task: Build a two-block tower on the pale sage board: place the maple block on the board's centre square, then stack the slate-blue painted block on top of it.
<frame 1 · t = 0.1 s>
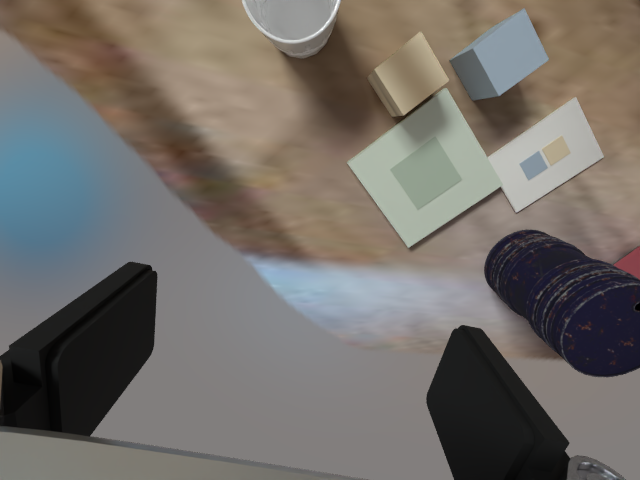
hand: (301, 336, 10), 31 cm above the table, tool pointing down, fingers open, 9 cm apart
white cup: (300, 23, 34), on the table
slate block: (481, 65, 35), on the table
maple block: (398, 82, 36), on the table
puzzle cube: (622, 291, 44), on the table
storage jar: (520, 264, 43), on the table
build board: (423, 172, 39), on the table
instruction card: (542, 158, 38), on the table
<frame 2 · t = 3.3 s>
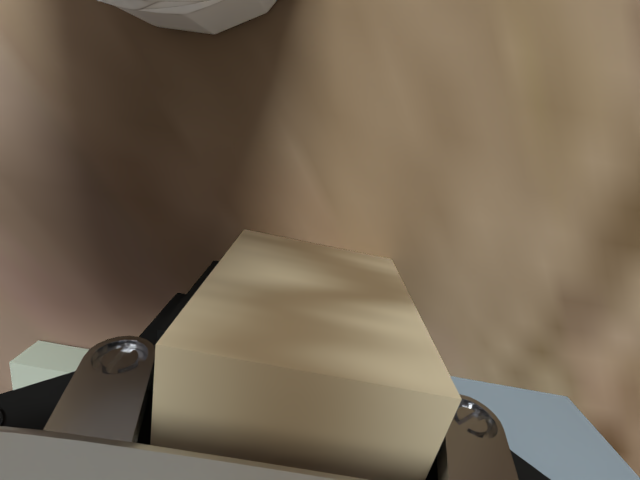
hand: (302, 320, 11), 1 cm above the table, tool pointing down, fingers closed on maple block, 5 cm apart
slate block: (483, 432, 14), on the table
maple block: (304, 308, 12), on the table, touching gripper
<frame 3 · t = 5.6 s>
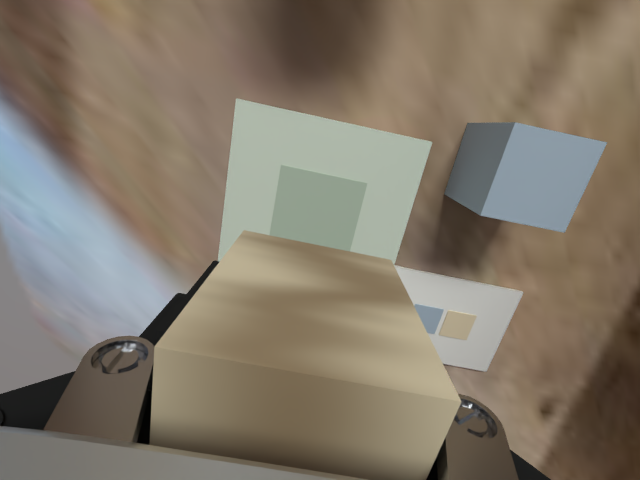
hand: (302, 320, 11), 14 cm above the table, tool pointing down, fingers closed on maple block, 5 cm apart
slate block: (488, 166, 23), on the table
maple block: (304, 309, 12), point 14 cm above the table, touching gripper
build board: (316, 211, 25), on the table
instruction card: (439, 319, 27), on the table
when the fingers open (3 cm above the table, at t = 7.9 s): maple block stays where it is, resting on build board.
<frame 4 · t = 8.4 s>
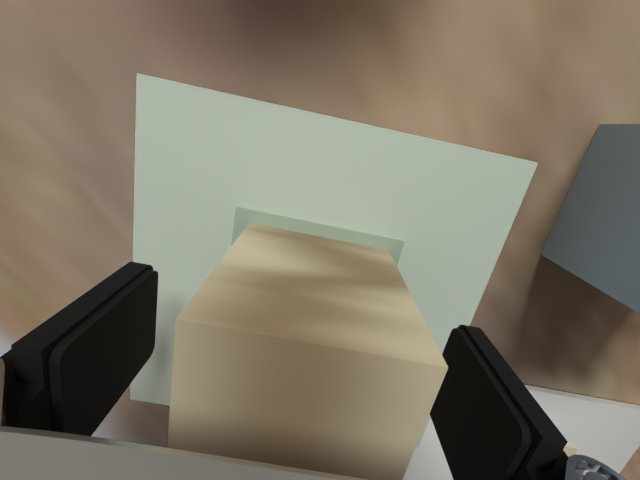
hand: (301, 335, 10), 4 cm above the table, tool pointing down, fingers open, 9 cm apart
slate block: (629, 206, 12), on the table
maple block: (306, 298, 12), point 1 cm above the table, touching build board
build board: (307, 283, 14), on the table
instruction card: (513, 450, 17), on the table
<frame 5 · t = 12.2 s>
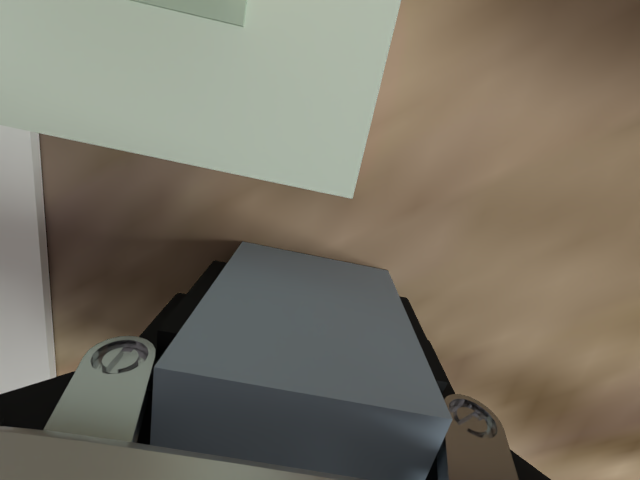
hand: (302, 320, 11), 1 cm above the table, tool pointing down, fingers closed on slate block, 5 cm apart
slate block: (302, 318, 12), on the table, touching gripper
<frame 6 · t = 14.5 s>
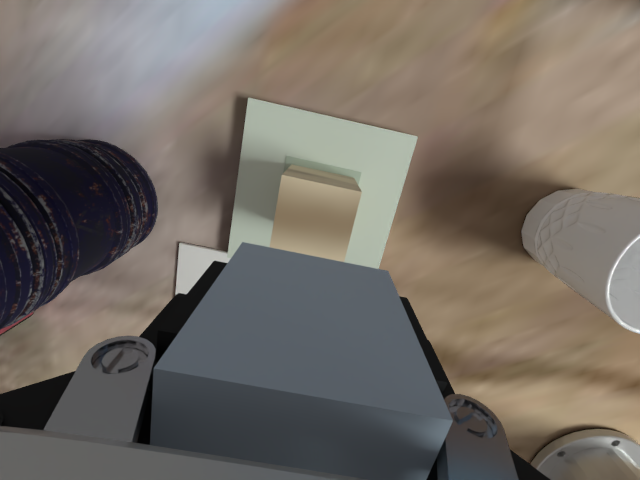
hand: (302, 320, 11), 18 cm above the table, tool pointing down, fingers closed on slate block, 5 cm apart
white cup: (558, 226, 28), on the table
slate block: (302, 319, 12), point 17 cm above the table, touching gripper
maple block: (316, 201, 27), point 1 cm above the table, touching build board
storage jar: (103, 197, 28), on the table
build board: (316, 197, 28), on the table
instruction card: (218, 303, 31), on the table
when the fingers open (9 cm above the table, at t = 17.0 s): slate block stays where it is, resting on maple block.
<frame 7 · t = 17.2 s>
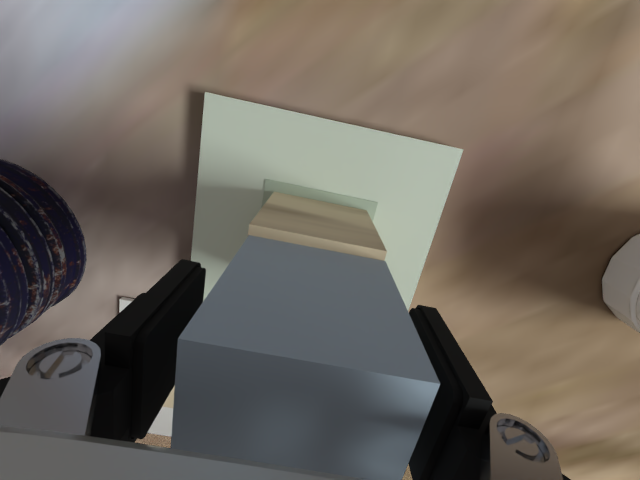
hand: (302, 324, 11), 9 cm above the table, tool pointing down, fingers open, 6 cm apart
slate block: (305, 307, 13), point 7 cm above the table, touching maple block
maple block: (311, 244, 18), point 1 cm above the table, touching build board, slate block
storage jar: (7, 237, 20), on the table
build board: (311, 236, 19), on the table
instruction card: (179, 375, 23), on the table
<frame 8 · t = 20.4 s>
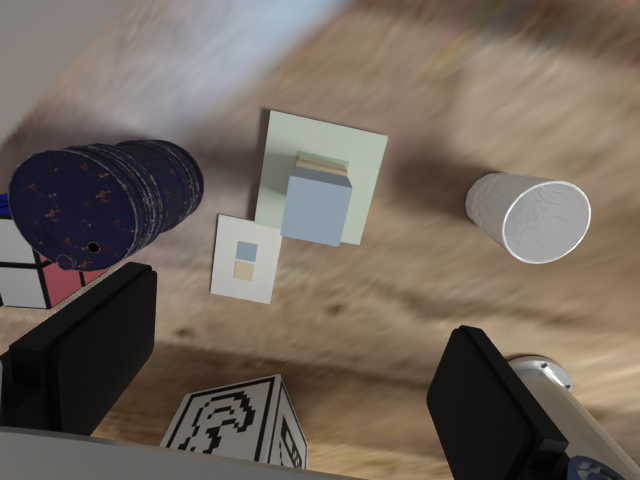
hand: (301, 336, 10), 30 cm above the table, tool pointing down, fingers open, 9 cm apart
white cup: (492, 200, 40), on the table
slate block: (316, 197, 32), point 7 cm above the table, touching maple block
maple block: (318, 182, 38), point 1 cm above the table, touching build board, slate block
puzzle cube: (66, 231, 42), on the table
storage jar: (164, 181, 39), on the table
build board: (318, 180, 39), on the table
instruction card: (246, 260, 42), on the table
block: (249, 419, 52), on the table
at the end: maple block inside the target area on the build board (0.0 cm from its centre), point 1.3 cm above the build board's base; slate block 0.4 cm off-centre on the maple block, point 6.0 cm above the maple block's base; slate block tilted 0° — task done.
